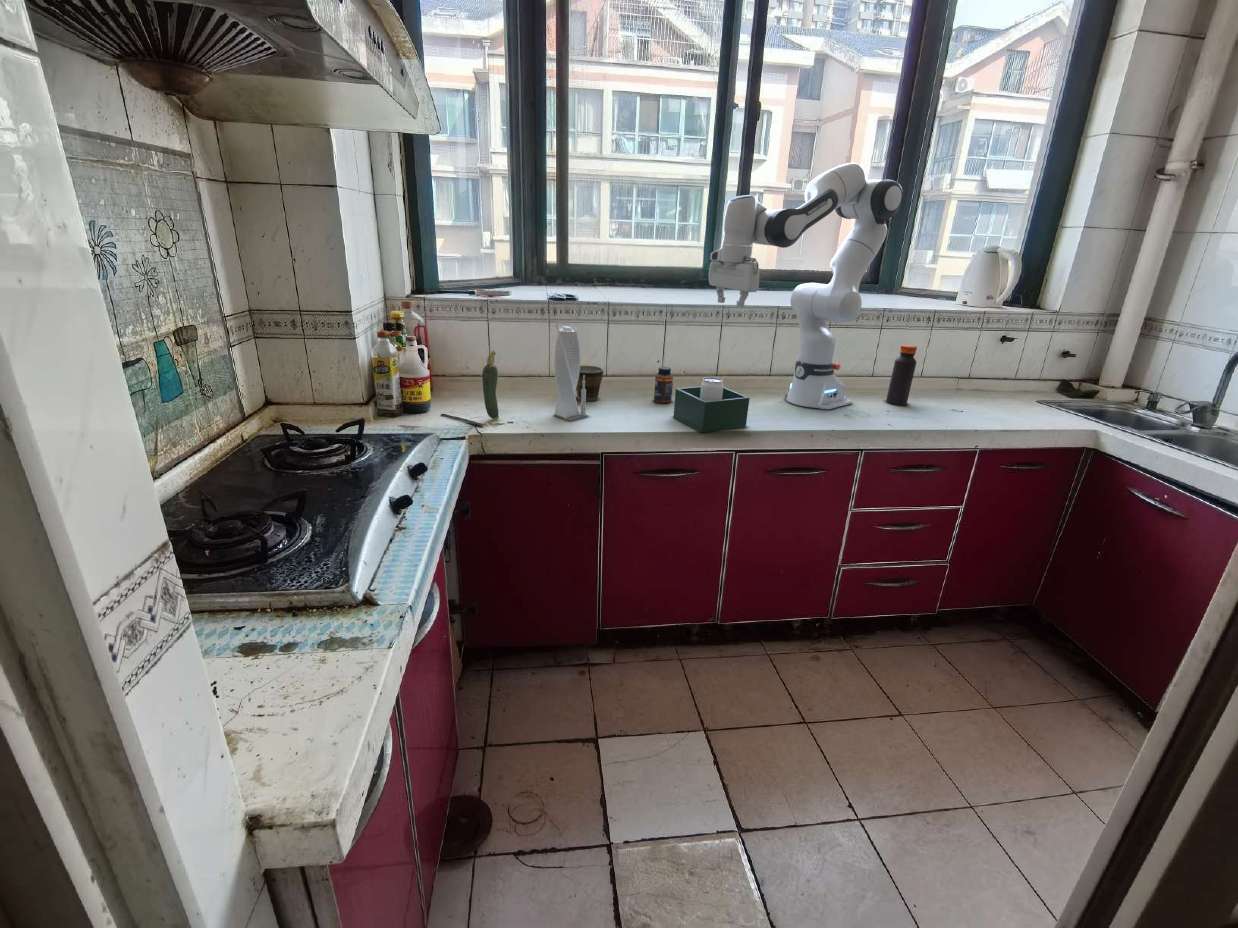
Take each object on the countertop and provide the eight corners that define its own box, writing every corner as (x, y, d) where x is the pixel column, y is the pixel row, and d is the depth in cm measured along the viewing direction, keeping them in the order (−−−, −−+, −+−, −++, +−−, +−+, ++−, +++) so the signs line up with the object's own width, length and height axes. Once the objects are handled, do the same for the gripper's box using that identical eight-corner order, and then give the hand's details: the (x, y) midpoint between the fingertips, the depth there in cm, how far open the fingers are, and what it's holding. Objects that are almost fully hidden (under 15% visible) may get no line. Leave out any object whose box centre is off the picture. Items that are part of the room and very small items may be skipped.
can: (718, 423, 174) (722, 383, 170) (696, 420, 176) (700, 380, 171) (720, 416, 180) (725, 378, 175) (699, 414, 181) (703, 376, 177)
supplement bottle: (674, 401, 198) (677, 367, 193) (666, 404, 193) (668, 370, 189) (659, 397, 201) (661, 364, 196) (650, 401, 196) (652, 367, 192)
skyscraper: (566, 422, 172) (567, 324, 161) (548, 415, 177) (548, 320, 166) (587, 416, 178) (589, 322, 167) (568, 410, 183) (570, 318, 172)
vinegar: (910, 404, 207) (924, 347, 200) (899, 406, 204) (912, 348, 196) (893, 399, 212) (905, 343, 205) (881, 401, 209) (894, 345, 201)
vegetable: (486, 422, 168) (483, 352, 161) (482, 418, 172) (479, 349, 164) (501, 421, 170) (499, 351, 163) (497, 416, 174) (494, 348, 166)
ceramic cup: (585, 392, 202) (585, 364, 198) (608, 398, 197) (609, 369, 193) (560, 400, 192) (560, 370, 189) (583, 406, 187) (584, 375, 183)
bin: (715, 412, 188) (718, 384, 184) (745, 427, 175) (749, 397, 172) (673, 417, 181) (675, 388, 178) (702, 432, 168) (705, 402, 165)
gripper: (767, 258, 165) (761, 309, 170) (724, 254, 182) (719, 300, 187) (749, 258, 162) (743, 309, 167) (707, 253, 179) (702, 300, 184)
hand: (730, 304), depth 177 cm, fingers open, 8 cm apart
